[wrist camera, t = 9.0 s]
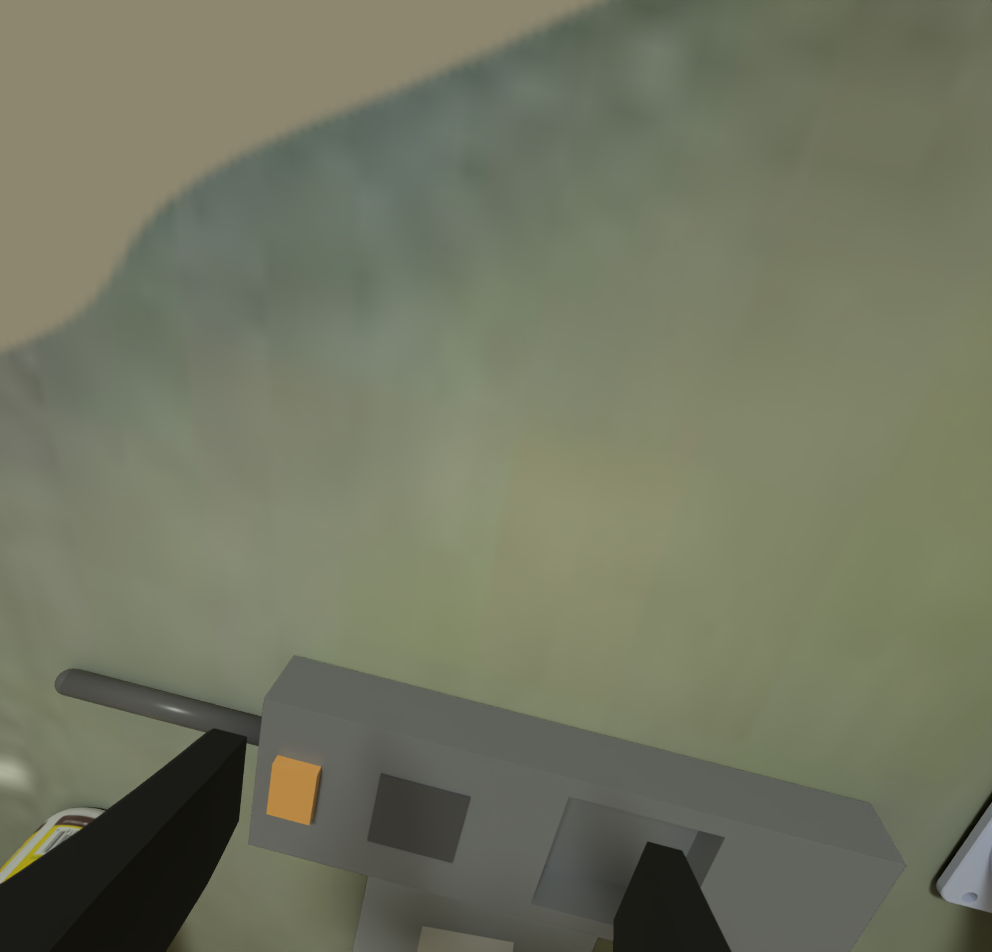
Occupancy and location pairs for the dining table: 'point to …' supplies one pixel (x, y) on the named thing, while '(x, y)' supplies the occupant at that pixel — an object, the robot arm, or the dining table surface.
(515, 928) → the pad
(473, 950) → the block
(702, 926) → the robot arm
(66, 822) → the supplement bottle
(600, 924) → the power strip
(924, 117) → the dining table surface
